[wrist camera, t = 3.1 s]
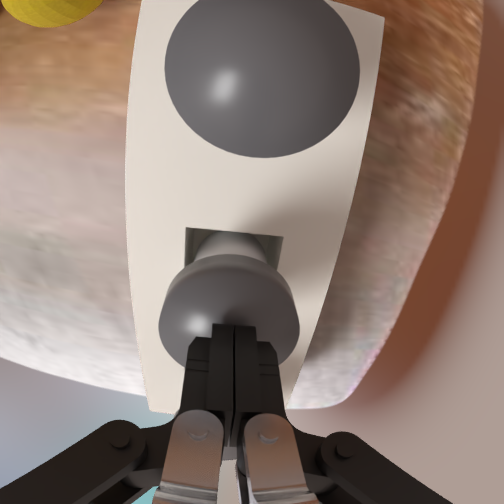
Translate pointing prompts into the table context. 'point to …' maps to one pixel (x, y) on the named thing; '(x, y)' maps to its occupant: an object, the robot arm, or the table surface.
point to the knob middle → (228, 297)
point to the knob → (262, 74)
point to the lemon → (50, 11)
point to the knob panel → (231, 196)
